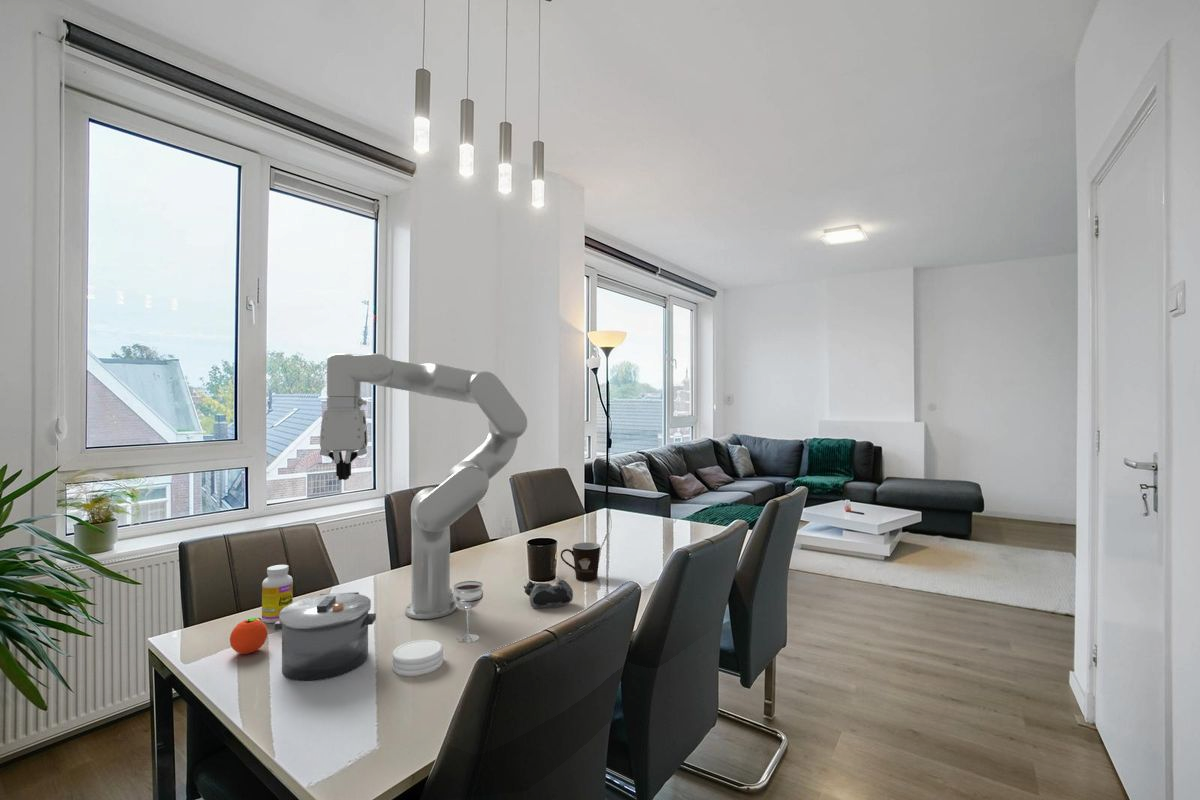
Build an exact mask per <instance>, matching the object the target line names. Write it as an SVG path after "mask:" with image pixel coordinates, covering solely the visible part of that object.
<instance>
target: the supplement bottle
mask: <svg viewBox="0 0 1200 800" xmlns="http://www.w3.org/2000/svg"><path fill="white" fill-rule="evenodd" d="M289 567H290V566H289V565H288V564H277V565H276V564H275V565H271V566H269V567H267V569H266V575H267V577H266V578H264V579H263V581H262V583H261V591H262V592H261V620H262V622H263V623H265V624H266V623H267V624H275V623H276V622H277V621H278V620H279V613H280V611H281V610H282V609H283V608H285V607H286V606H288V605H290V604H292V603H294V602H293V598H294V597H293V596H294V595H293V593H294V592H293V591H294V589H293V587H294V580H293V577H292V575H289V574H288V572H289Z"/></svg>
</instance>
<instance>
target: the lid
mask: <svg viewBox="0 0 1200 800" xmlns="http://www.w3.org/2000/svg"><path fill="white" fill-rule="evenodd" d="M371 606H372V601H371V598H369V597H368V596H367V595H363V594H360V593H359V592H357V591H356V592H341V593H340V592H338V593H335V592H334V593H320V594H319V595H315V596H311V597H307V598H303V599H300V600H297V601H295V602H293V603H292V604H290V605H288V606H286V607H285V608H283V609H282V610H281V611H280V613H279V622H280V623H281V624H282V625H283V626H286V627H289V628H295V629H316V628H325V627H331V626H336V625H340V624H344V623H347V622H350V621H353V620H355V619H358V618H360V617H362V616H364V615H365V614H366V613H368V614H369V612H370V611H371V608H372V607H371Z"/></svg>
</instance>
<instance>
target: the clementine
mask: <svg viewBox="0 0 1200 800" xmlns="http://www.w3.org/2000/svg"><path fill="white" fill-rule="evenodd" d="M267 638H268V627H267V626H266V623H265V622H263V621H262V617H251V618H248V619H245V620H243V621H241V622H239V623H238V624H236V626H235V627H234V628H233V629H232V631H231V633H230V636H229V642H230V646H231V647H230V648H231V649H233V650H234V651H235V652H236V653H238V654H240V655H241V654H242V655H244V654H245V655H246V654H251V653H254V652H256V651H258V650H259V649H261V648H262V647H263V645H264V644H265V642H266V640H267Z"/></svg>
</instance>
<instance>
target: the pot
mask: <svg viewBox="0 0 1200 800" xmlns="http://www.w3.org/2000/svg"><path fill="white" fill-rule="evenodd" d="M376 616H377V613H376V612H375V613H369V612H368V613H366V614H365V615H364V616H362V617H360V618H358V619H355V620H353V621H350V622H347V623H344V624H340V625H336V626H331V627H325V628H316V629H295V628H289V627H286V626H283V625H282V624H281V623H280V622H279V620H278V621H277V622H276V623H274V630H275V631H276V630H277V631H279V630H280V631H281V673H282V675H283V676H284V677H285V678H287V679H290V680H293V681H299V682H312V681H313V682H315V681H322V680H328V679H333V678H337V677H340V676H343V675H346V674H349V673H350V672H353V671H354V670H356V669H358V668H360V667H361V666H363V665H364V664H365V663H366V662H367V660H368V658H369V625H370V626H371V625H373V624H374V622H375V621H376V619H377V617H376Z"/></svg>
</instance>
